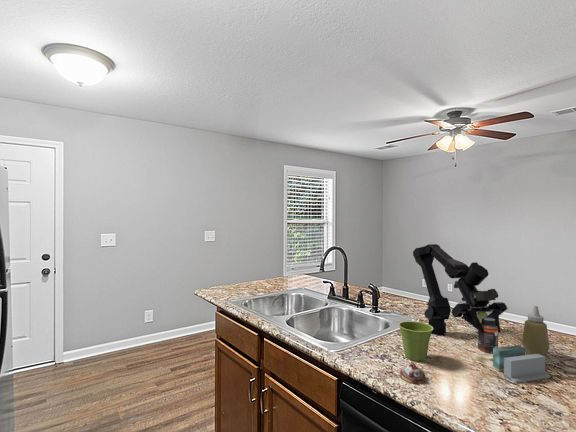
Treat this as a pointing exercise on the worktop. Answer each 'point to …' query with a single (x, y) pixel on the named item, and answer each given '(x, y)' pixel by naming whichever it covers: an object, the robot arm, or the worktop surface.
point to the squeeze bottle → (535, 334)
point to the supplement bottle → (488, 335)
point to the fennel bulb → (482, 314)
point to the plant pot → (415, 339)
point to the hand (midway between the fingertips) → (491, 332)
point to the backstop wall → (525, 368)
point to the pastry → (412, 374)
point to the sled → (499, 356)
